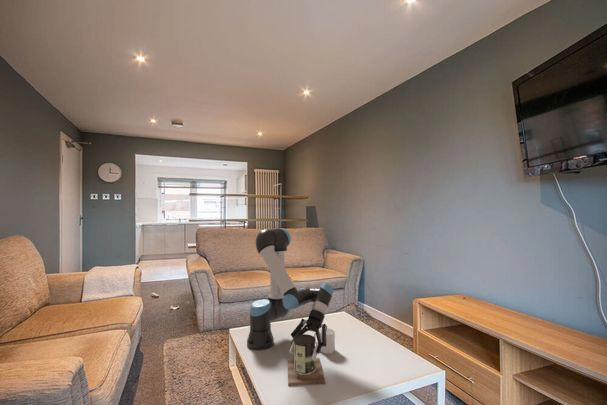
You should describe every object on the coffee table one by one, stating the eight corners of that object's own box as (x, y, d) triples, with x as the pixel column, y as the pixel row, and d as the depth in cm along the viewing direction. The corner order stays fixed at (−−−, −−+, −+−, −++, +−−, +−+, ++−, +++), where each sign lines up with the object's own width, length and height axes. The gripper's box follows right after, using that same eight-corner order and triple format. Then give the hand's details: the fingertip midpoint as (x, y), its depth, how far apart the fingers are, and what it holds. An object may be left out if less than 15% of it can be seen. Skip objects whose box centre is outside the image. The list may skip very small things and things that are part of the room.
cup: (331, 355, 152) (331, 335, 153) (310, 350, 158) (310, 331, 158) (337, 348, 160) (336, 329, 160) (316, 344, 165) (316, 326, 165)
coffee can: (315, 363, 142) (315, 334, 142) (316, 375, 132) (315, 343, 132) (294, 363, 142) (293, 334, 143) (293, 375, 132) (292, 344, 132)
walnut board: (287, 361, 146) (287, 359, 146) (319, 360, 148) (319, 357, 148) (288, 385, 126) (288, 382, 127) (324, 383, 128) (324, 380, 128)
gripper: (341, 321, 144) (327, 366, 131) (301, 312, 157) (284, 353, 144) (336, 313, 140) (321, 360, 126) (295, 304, 153) (277, 346, 139)
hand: (301, 356), depth 135 cm, fingers open, 12 cm apart
